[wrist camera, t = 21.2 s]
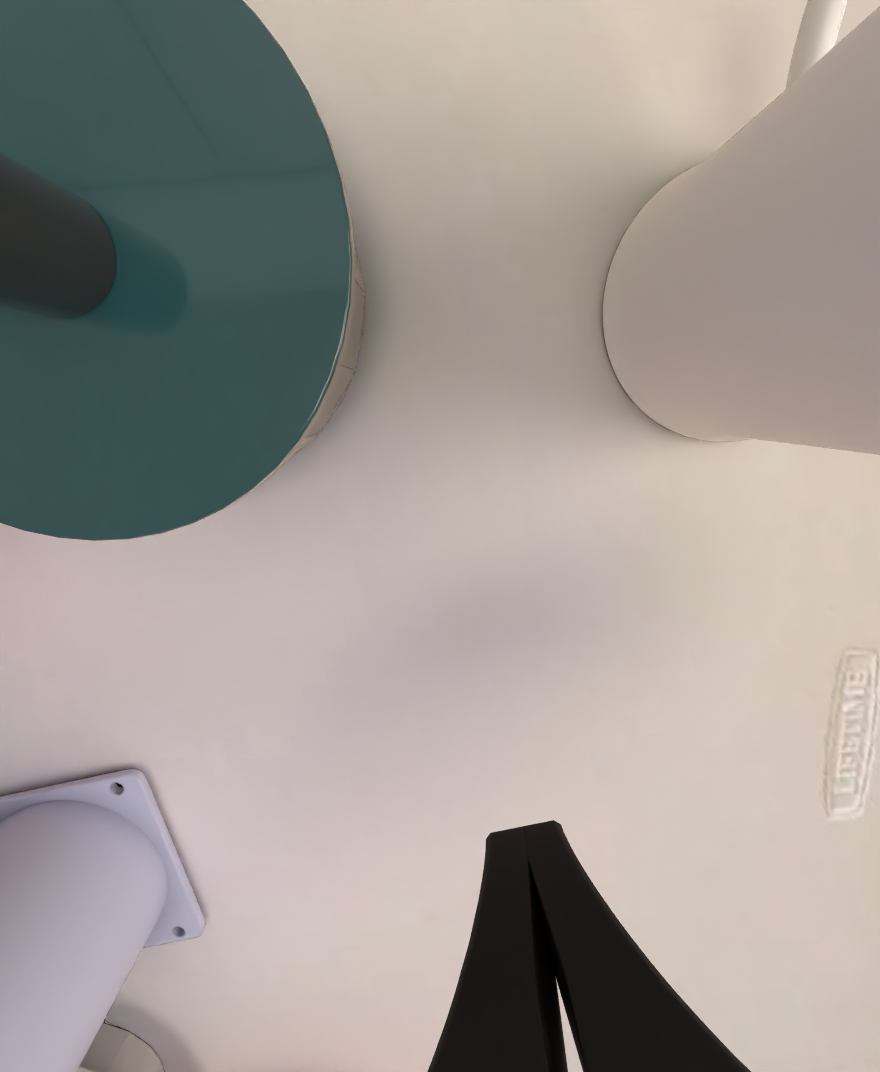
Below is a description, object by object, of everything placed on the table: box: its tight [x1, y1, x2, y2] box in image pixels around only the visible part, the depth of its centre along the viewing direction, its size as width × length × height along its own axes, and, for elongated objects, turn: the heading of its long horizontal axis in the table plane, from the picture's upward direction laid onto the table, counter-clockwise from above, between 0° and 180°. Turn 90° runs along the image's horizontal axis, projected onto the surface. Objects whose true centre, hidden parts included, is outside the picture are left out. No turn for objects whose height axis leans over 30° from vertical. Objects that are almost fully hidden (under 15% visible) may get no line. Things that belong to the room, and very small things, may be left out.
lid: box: [0, 0, 356, 541], centre depth 11 cm, size 13×13×5 cm
